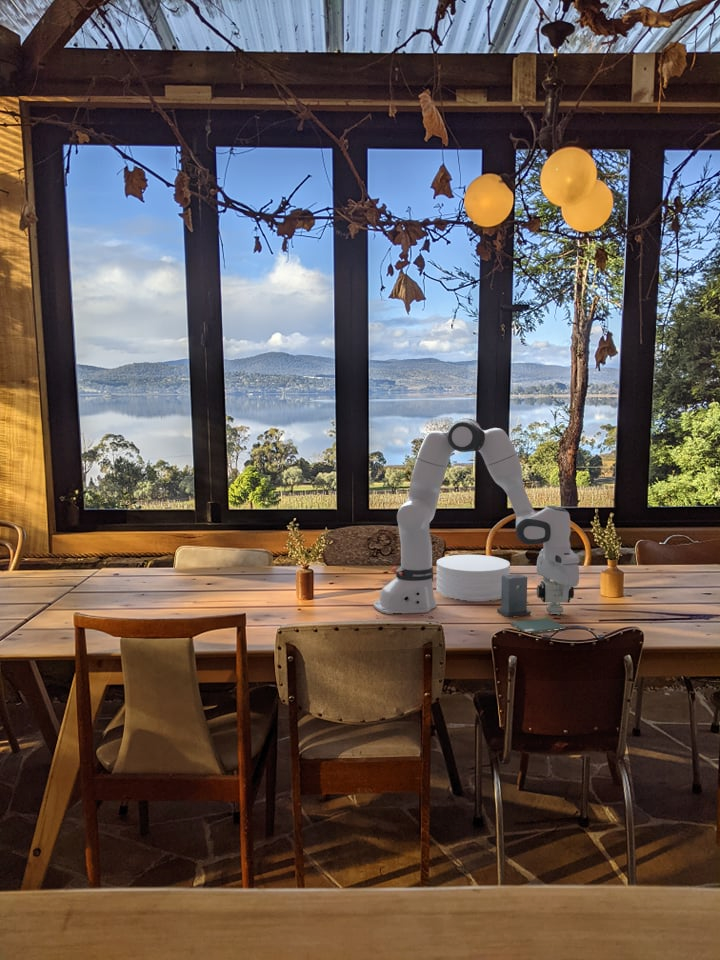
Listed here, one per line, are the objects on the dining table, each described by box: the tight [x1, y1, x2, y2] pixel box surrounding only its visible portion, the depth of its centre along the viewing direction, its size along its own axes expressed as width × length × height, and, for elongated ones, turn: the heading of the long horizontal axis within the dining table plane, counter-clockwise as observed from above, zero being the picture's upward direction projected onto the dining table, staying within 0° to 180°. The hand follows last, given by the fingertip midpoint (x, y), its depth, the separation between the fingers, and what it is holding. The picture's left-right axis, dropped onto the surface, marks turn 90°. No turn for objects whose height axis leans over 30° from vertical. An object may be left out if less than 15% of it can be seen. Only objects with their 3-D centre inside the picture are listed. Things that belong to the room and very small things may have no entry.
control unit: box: [496, 573, 532, 618], centre depth 233 cm, size 9×7×13 cm
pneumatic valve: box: [536, 580, 575, 616], centre depth 233 cm, size 6×12×12 cm, turn 86°
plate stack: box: [435, 554, 511, 602], centre depth 263 cm, size 28×28×12 cm
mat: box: [510, 617, 565, 634], centre depth 220 cm, size 14×10×1 cm
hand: (556, 593), depth 232 cm, fingers open, 8 cm apart
